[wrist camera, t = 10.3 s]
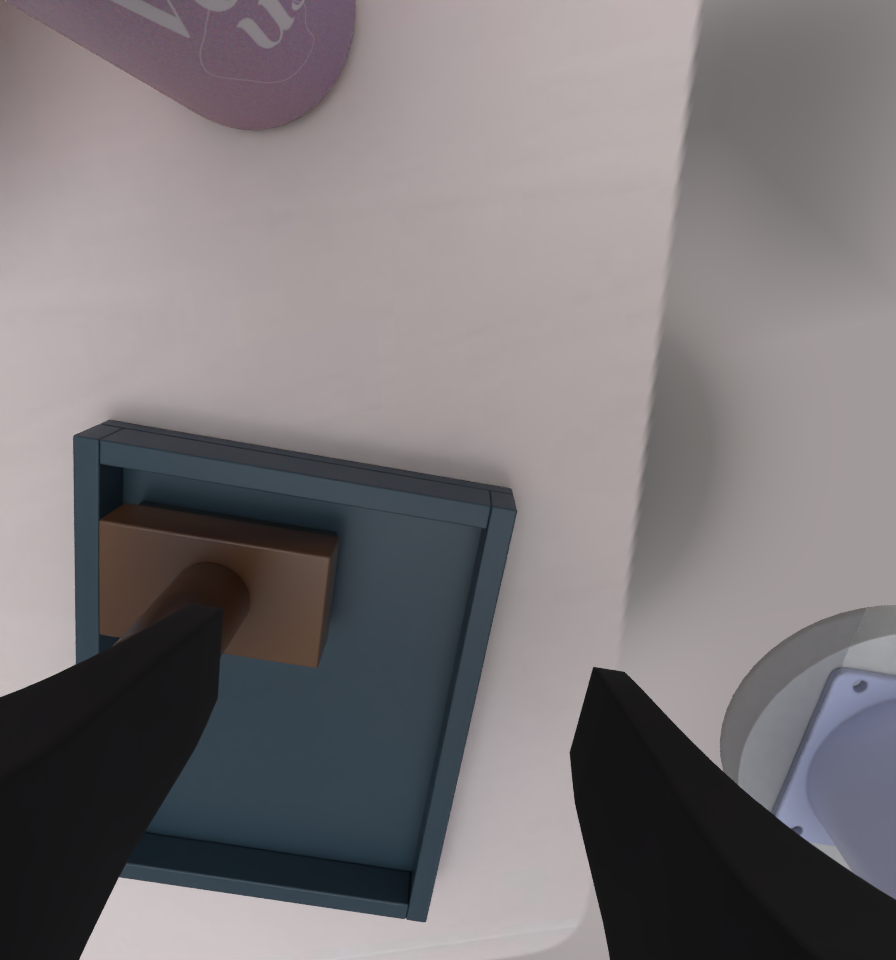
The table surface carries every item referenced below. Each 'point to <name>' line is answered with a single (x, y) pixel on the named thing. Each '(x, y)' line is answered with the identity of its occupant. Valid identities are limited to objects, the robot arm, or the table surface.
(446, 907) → the table surface
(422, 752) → the tray
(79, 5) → the beverage can
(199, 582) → the wooden stamp
